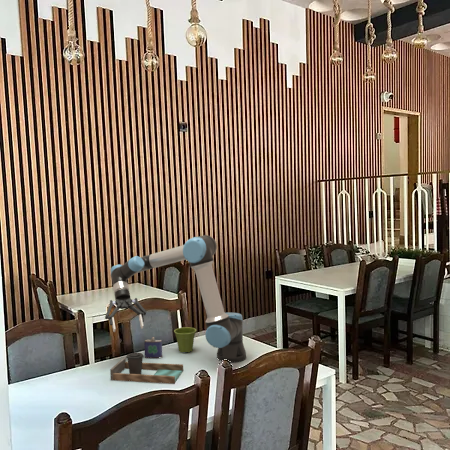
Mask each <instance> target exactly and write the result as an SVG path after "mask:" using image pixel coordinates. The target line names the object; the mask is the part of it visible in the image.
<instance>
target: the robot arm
mask: <svg viewBox="0 0 450 450" xmlns="http://www.w3.org/2000/svg"><path fill="white" fill-rule="evenodd" d="M217 244H218V243H217V241H216V240H215V238H213V237H212V236H210V235H207V234H202V235H200V236H194V237H191V238H189V239H188V240H186V241H185V243H184V244H182V245H180V246H175V247H172V248H169V249H166V250H162V251H159V252H154V253H152V254H148V255H143V256H141V257H140V256H138V255H135V256H133V257H131V258H130V259H128V260H127V261H126V262H125V263H124V264H116V265H113V266H112V267H111V268H110V278H111V281H112V287H113V294H114V299H115V300H112V299H111V300H109V305H108V308H107V311H106V313H105V315H104V319H105V320H108V321H109V325H110V326H112V331H113V333H116V324H115V318H114V317H115V315H116V314H117V312H119V311H120V310H125V309H129V310H132V312H134V313H135V314H136V315H138V319H139V325H140V329H142V330H143V328H144V321H145V317H144V316H146V315H147V310H146V309H145V308H144V307H143V306H142V305H141V303H140V302H139V300H138V298H137V297H135V298H133V299H131V294H130V287H129V283H128V280H129V279H130V278H131V277H133V276H134V275H136V274H138V273H142V272H145V271H148V270H151V269H152V270H153V269H155V268H159V267H163V266H166V265H172V264H175V263H178V262H181V261H188V262H189V266H190V268H191V269H193V270H194V272H195V275H196V280H197V284H198V287H199V291H200V294H201V298H202V302H203V306H204V308H205V313H206V316H207V318H206V320H205V325H206V331H205V334H204V335H205V340H206V342H207V343H208V345H210V347H211V346H212V347H213V348H215V349H216V348H217V351H216V359H217V358H218V359H219V360H218V359H217V360H218V361H220V360H221V361H220V362H223V361H222V360H224V359H227V360H229V361H231V362H230V363H240V362H242V361H245V360H246V359H247V351H246V349H245V345H244V343H243V342H244V340H243V338H244V337H243V334H244V333H243V331H244V329H243V327H244V325H243V321H244V320H243V315H242V314H241V313H238V312H225V310H224V305H223V301H222V298H221V295H220V290H219V287H218V283H217V279H216V276H215V273H214V272H215V271H214V269H213V264H214V257H213V256H214V255H215V253H216V252H217ZM113 306H115V308H114V309H113V311H111V310H112V308H113ZM110 313H111V314H110ZM239 361H240V362H239Z"/></svg>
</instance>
